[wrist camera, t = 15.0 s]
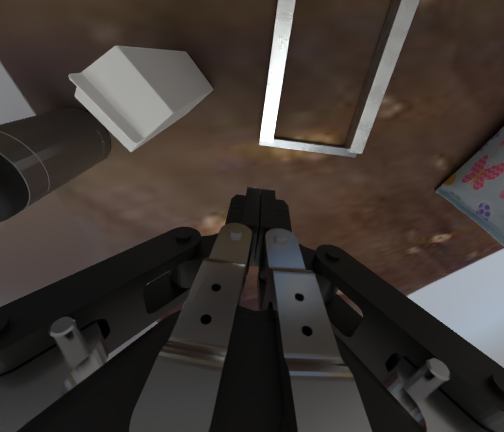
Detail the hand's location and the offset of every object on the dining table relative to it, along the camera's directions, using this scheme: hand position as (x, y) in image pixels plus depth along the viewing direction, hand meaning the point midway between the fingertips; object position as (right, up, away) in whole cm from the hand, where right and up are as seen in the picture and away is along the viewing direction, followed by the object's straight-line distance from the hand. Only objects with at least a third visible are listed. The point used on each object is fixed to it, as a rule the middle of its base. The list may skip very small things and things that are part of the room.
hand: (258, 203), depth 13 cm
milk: (-10, +19, +23) cm, 32 cm away
